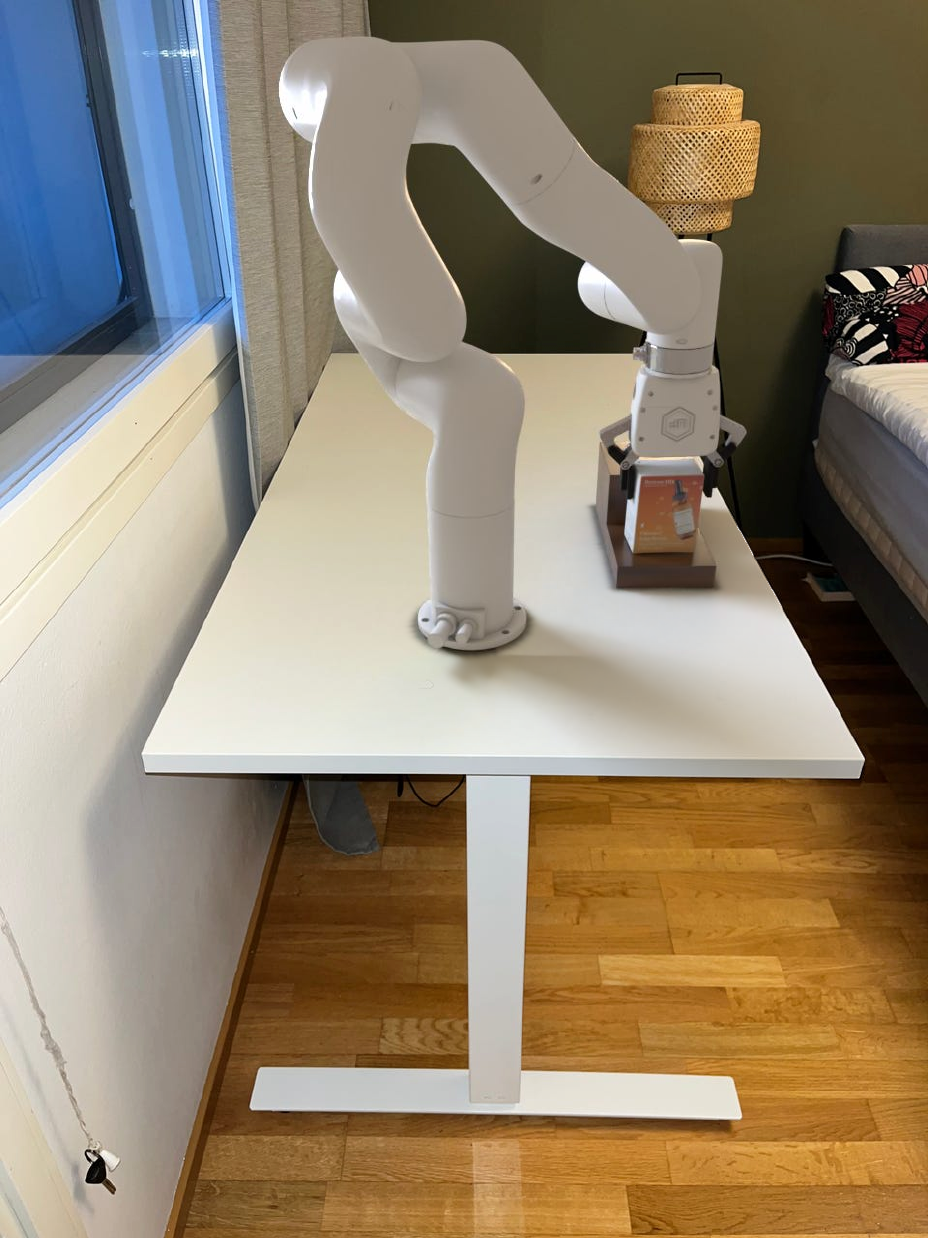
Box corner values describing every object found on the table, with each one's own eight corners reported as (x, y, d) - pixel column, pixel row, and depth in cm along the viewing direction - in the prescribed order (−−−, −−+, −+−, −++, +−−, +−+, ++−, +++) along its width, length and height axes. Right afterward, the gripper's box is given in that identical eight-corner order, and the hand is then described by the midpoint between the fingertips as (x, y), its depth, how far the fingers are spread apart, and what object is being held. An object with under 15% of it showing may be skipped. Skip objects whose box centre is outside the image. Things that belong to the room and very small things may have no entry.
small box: (632, 555, 118) (638, 476, 113) (623, 535, 123) (629, 458, 117) (695, 552, 118) (705, 474, 113) (684, 533, 123) (693, 456, 118)
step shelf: (713, 587, 117) (723, 513, 112) (616, 588, 117) (621, 514, 112) (678, 506, 137) (685, 440, 132) (595, 507, 138) (599, 441, 132)
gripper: (606, 368, 105) (600, 509, 114) (763, 364, 105) (744, 505, 114) (599, 349, 112) (593, 483, 121) (747, 345, 111) (730, 480, 120)
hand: (667, 494), depth 117 cm, fingers open, 9 cm apart
